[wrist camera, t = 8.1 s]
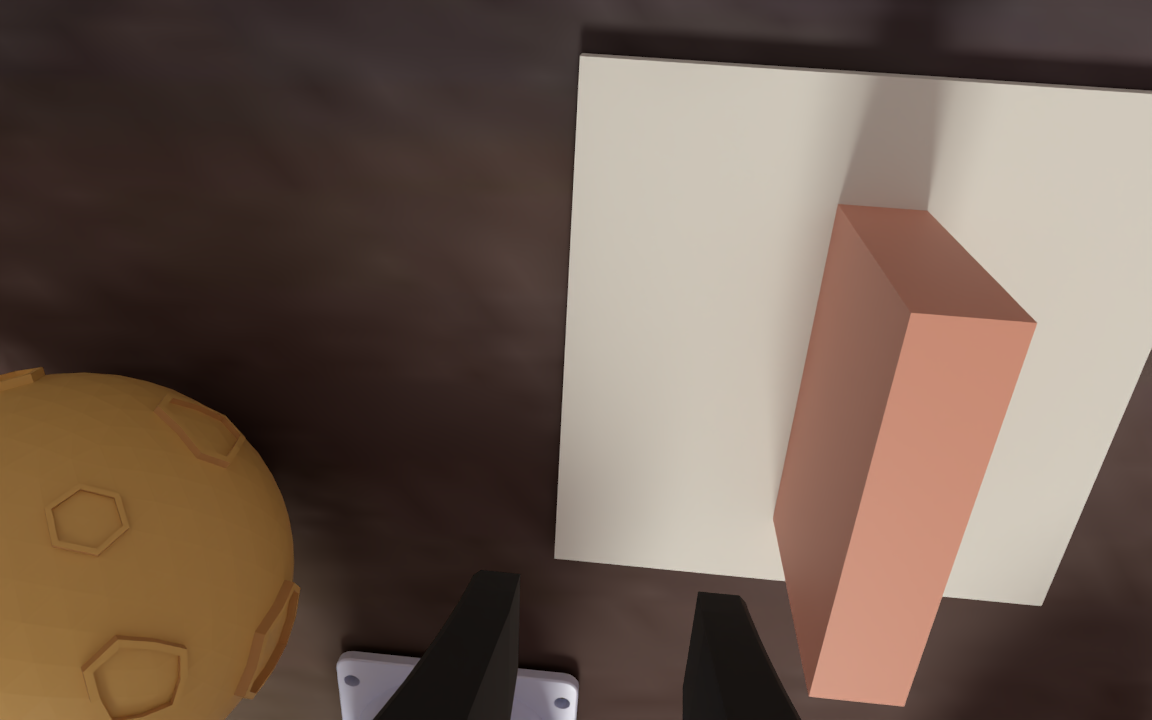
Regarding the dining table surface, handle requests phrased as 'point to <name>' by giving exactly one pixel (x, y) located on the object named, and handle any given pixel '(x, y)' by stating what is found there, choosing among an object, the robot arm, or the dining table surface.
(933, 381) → the slab
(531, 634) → the dining table surface
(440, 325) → the dining table surface
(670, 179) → the mat
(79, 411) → the stress ball
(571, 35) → the dining table surface
